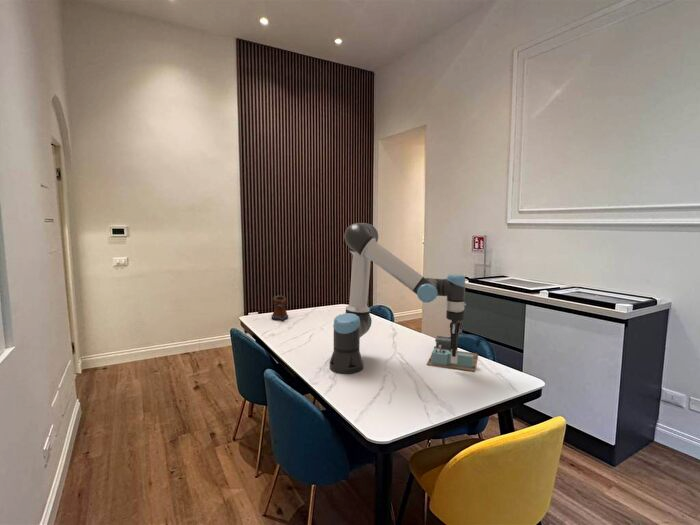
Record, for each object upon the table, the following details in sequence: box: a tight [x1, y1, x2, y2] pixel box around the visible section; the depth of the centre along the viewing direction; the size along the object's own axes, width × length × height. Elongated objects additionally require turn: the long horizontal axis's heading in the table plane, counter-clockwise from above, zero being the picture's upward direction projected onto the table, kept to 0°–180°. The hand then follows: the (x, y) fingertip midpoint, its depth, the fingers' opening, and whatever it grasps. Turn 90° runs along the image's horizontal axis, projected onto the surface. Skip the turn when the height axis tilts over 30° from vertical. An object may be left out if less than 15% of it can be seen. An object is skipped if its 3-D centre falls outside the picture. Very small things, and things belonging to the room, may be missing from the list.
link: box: [431, 347, 473, 368], centre depth 176 cm, size 18×7×5 cm, turn 69°
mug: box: [270, 294, 289, 322], centre depth 252 cm, size 18×12×15 cm, turn 24°
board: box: [426, 350, 478, 373], centre depth 183 cm, size 24×21×1 cm
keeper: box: [433, 335, 451, 352], centre depth 191 cm, size 8×8×7 cm
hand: (453, 362), depth 168 cm, fingers closed
